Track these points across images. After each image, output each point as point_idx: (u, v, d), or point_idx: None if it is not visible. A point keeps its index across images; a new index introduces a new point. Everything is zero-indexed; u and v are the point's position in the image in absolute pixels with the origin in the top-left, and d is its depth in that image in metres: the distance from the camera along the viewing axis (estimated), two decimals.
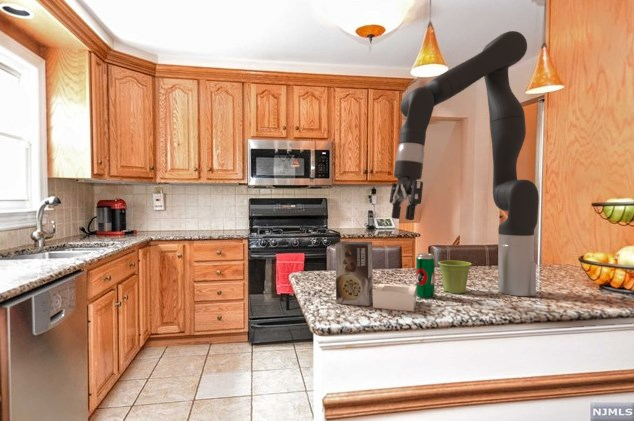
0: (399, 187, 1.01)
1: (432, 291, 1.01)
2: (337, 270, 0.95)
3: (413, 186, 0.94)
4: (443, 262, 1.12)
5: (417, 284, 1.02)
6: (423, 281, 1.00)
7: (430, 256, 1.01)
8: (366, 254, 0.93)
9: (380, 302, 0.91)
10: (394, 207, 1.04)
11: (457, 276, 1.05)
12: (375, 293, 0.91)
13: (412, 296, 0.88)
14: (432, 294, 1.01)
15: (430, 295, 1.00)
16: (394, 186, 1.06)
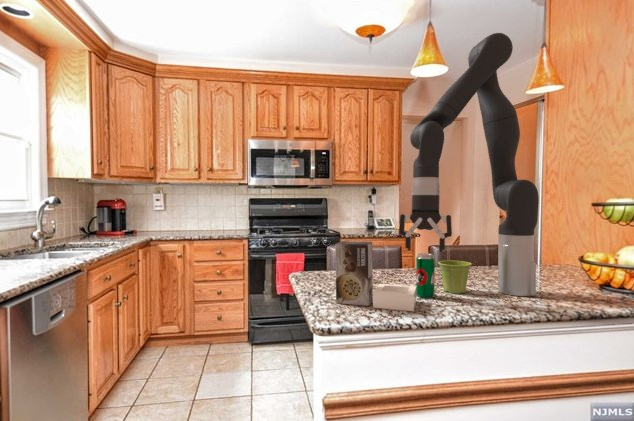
0: (422, 220, 1.01)
1: (432, 291, 1.01)
2: (337, 270, 0.95)
3: (449, 220, 0.99)
4: (443, 262, 1.12)
5: (417, 284, 1.02)
6: (423, 281, 1.00)
7: (430, 256, 1.01)
8: (366, 254, 0.93)
9: (380, 302, 0.91)
10: (410, 239, 1.03)
11: (457, 276, 1.05)
12: (375, 293, 0.91)
13: (412, 296, 0.88)
14: (432, 294, 1.01)
15: (430, 295, 1.00)
16: (404, 217, 1.04)
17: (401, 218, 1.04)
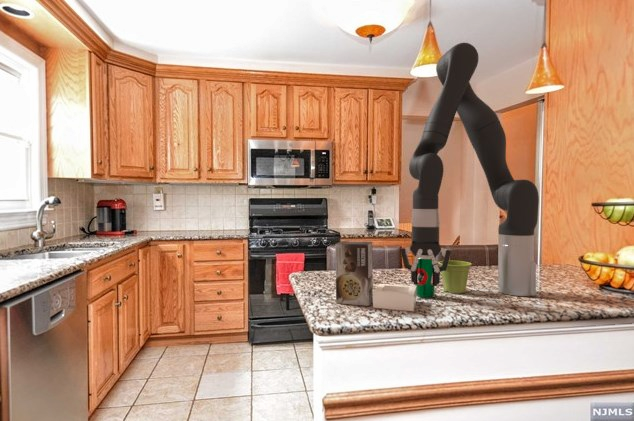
0: (422, 251, 1.01)
1: (432, 291, 1.01)
2: (337, 270, 0.95)
3: (448, 255, 1.00)
4: None
5: (417, 284, 1.02)
6: (423, 281, 1.00)
7: None
8: (366, 254, 0.93)
9: (380, 302, 0.91)
10: None
11: (457, 276, 1.05)
12: (375, 293, 0.91)
13: (412, 296, 0.88)
14: (432, 294, 1.01)
15: (430, 295, 1.00)
16: (405, 251, 1.04)
17: (402, 252, 1.04)
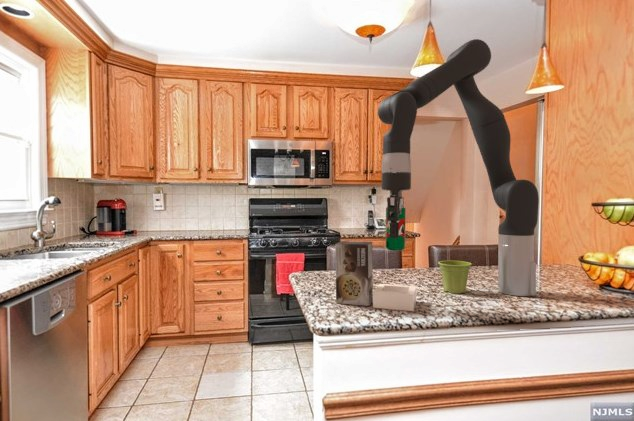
0: None
1: None
2: (337, 270, 0.95)
3: None
4: (443, 262, 1.12)
5: (399, 237, 0.92)
6: None
7: None
8: (366, 254, 0.93)
9: (380, 302, 0.91)
10: None
11: (457, 276, 1.05)
12: (375, 293, 0.91)
13: (412, 296, 0.88)
14: None
15: None
16: None
17: (397, 202, 0.88)
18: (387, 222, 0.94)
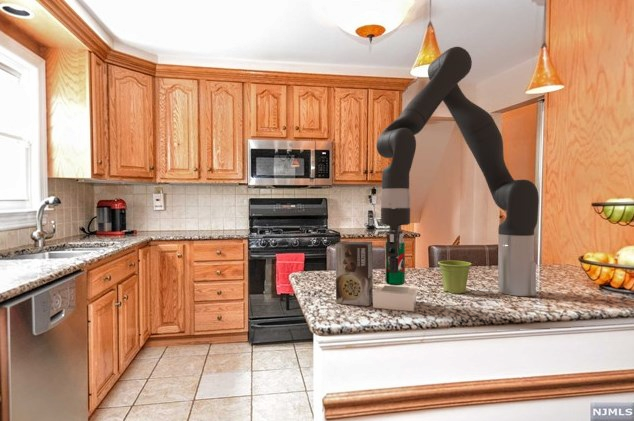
0: None
1: None
2: (337, 270, 0.95)
3: None
4: (443, 262, 1.12)
5: (399, 272, 0.92)
6: (404, 266, 0.94)
7: None
8: (366, 254, 0.93)
9: (380, 302, 0.91)
10: None
11: (457, 276, 1.05)
12: (375, 293, 0.91)
13: (412, 296, 0.88)
14: None
15: None
16: None
17: (396, 239, 0.88)
18: (387, 257, 0.94)
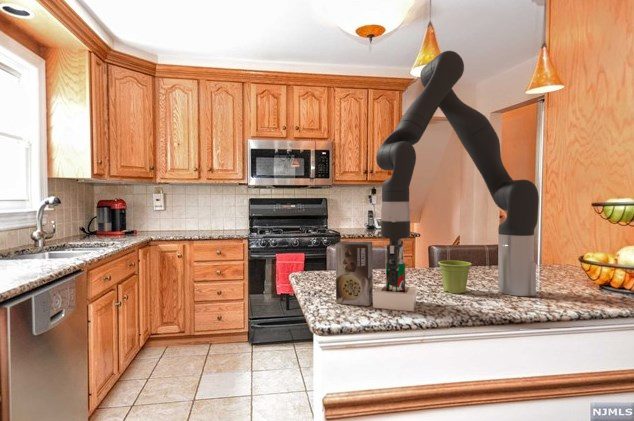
0: None
1: None
2: (337, 270, 0.95)
3: None
4: (443, 262, 1.12)
5: None
6: (404, 286, 0.94)
7: None
8: (366, 254, 0.93)
9: (380, 302, 0.91)
10: None
11: (457, 276, 1.05)
12: (375, 293, 0.91)
13: (412, 296, 0.88)
14: None
15: None
16: None
17: (397, 250, 0.88)
18: (387, 277, 0.94)
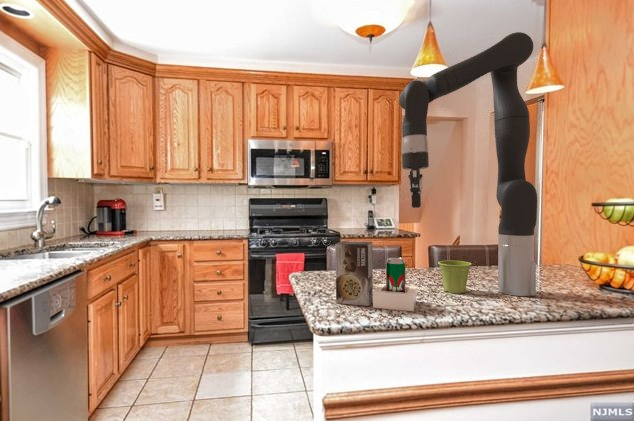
0: None
1: None
2: (337, 270, 0.95)
3: None
4: (443, 262, 1.12)
5: None
6: (405, 286, 0.94)
7: None
8: (366, 254, 0.93)
9: (380, 302, 0.91)
10: None
11: (457, 276, 1.05)
12: (375, 293, 0.91)
13: (412, 296, 0.88)
14: None
15: None
16: None
17: (419, 174, 1.00)
18: (387, 277, 0.94)
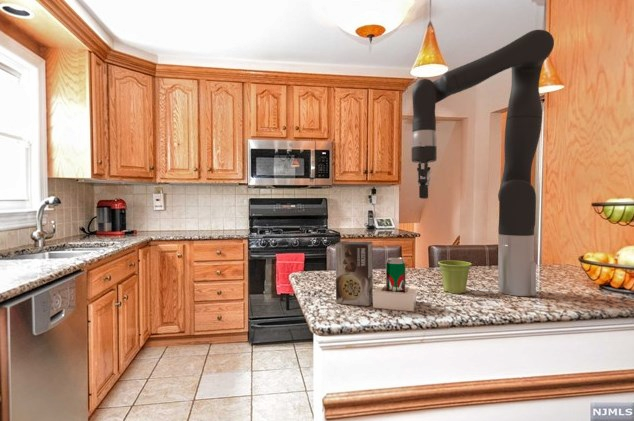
0: None
1: None
2: (337, 270, 0.95)
3: None
4: (443, 262, 1.12)
5: None
6: (405, 286, 0.94)
7: None
8: (366, 254, 0.93)
9: (380, 302, 0.91)
10: None
11: (457, 276, 1.05)
12: (375, 293, 0.91)
13: (412, 296, 0.88)
14: None
15: None
16: None
17: (426, 166, 1.06)
18: (387, 277, 0.94)
